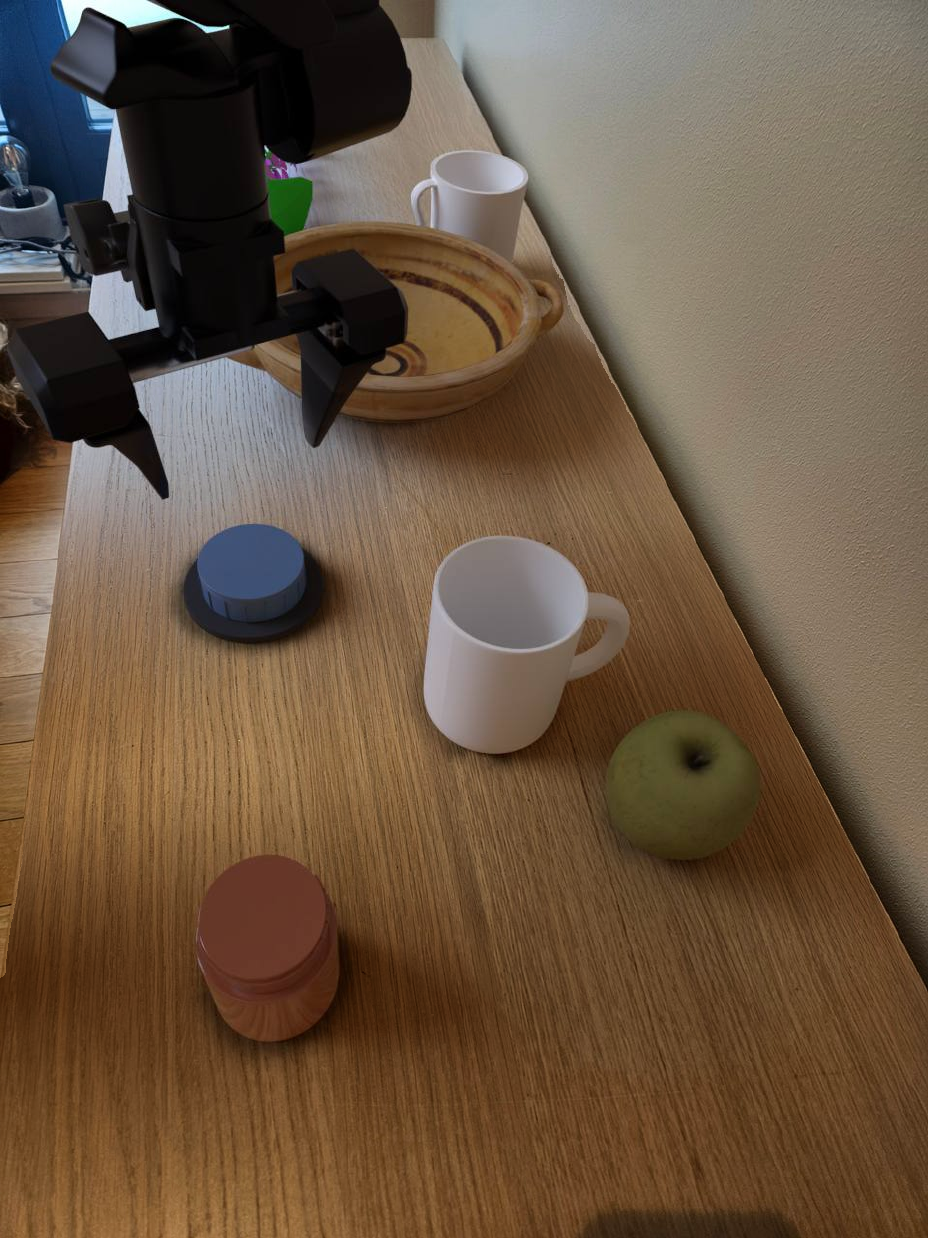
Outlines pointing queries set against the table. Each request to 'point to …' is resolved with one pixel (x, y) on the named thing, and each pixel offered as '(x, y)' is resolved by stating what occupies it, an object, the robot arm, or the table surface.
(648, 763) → the apple
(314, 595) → the coaster
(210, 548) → the jar lid
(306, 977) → the jar
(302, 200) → the potted plant
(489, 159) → the mug
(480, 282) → the ceramic bowl
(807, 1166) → the table surface
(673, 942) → the table surface
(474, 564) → the mug
